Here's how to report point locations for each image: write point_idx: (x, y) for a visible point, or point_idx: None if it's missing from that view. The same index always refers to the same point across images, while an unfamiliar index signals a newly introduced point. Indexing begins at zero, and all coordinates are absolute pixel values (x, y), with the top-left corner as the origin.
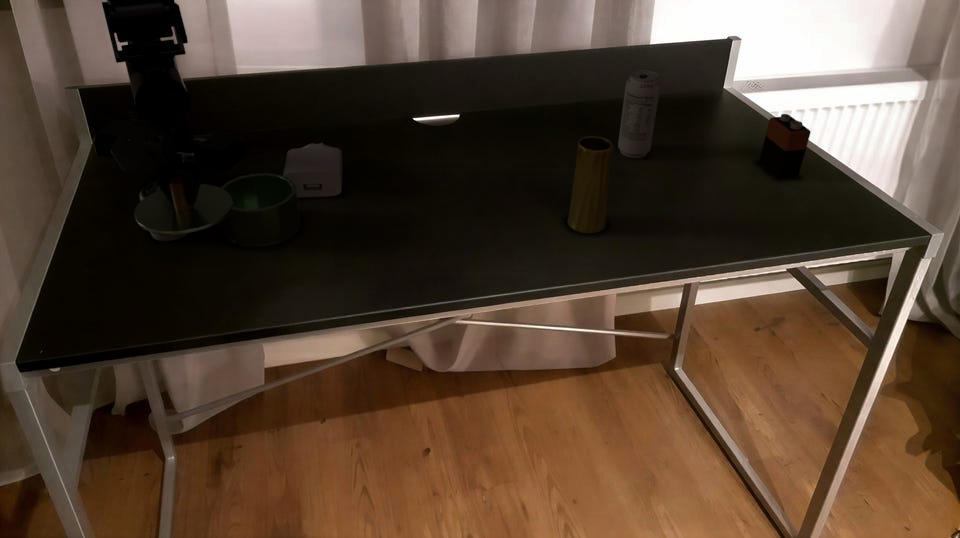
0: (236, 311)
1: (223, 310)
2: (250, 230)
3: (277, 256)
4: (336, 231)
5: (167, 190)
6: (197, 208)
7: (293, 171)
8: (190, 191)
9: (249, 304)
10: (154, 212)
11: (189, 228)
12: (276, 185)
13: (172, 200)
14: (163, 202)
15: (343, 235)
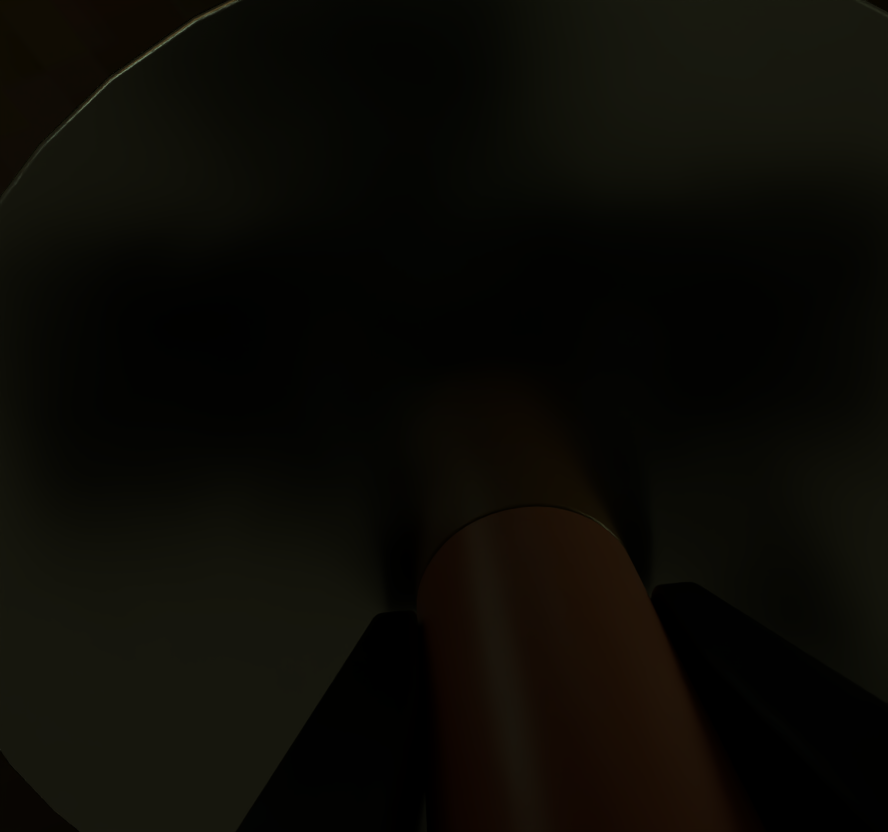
0: (25, 84)
1: (105, 64)
2: None
3: None
4: (70, 825)
5: (763, 718)
6: (337, 616)
7: None
8: (256, 817)
9: (8, 177)
10: (813, 361)
11: (60, 167)
12: None
13: (666, 610)
14: (812, 584)
15: (18, 813)
